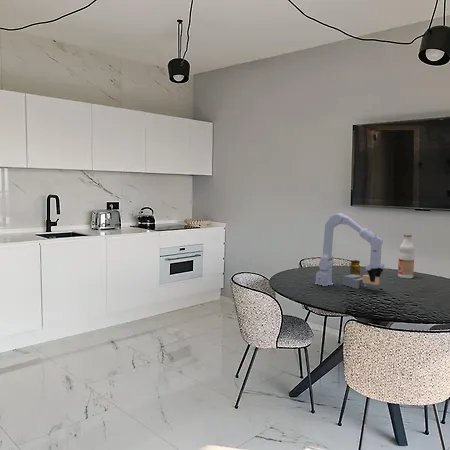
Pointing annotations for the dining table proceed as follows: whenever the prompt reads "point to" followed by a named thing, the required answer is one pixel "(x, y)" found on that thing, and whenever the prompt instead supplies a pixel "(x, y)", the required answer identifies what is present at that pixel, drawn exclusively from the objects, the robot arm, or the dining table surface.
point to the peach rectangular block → (367, 280)
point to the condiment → (355, 267)
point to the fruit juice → (406, 258)
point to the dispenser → (353, 281)
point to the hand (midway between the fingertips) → (374, 281)
